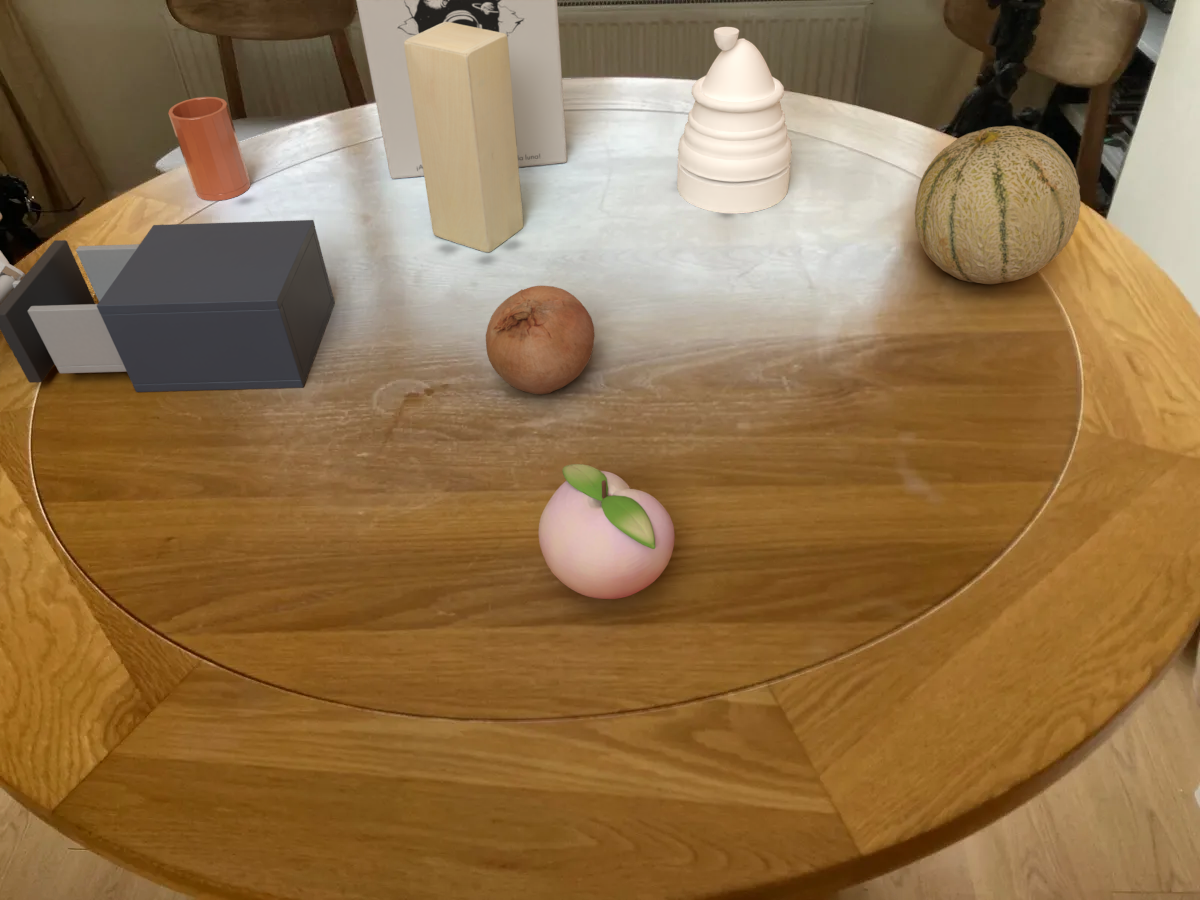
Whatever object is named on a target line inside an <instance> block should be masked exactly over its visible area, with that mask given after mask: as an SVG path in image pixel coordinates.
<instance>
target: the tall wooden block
mask: <svg viewBox="0 0 1200 900" xmlns="http://www.w3.org/2000/svg"><path fill="white" fill-rule="evenodd" d="M404 48H405V55H406V62H407V68H408V74H409V81H410V87H411V94H412V100H413V106H414V113H415V119H416V126H417V132H418V139H419V145H420V152H421V158H422V165H423V171H424V176H423V177H424V184H425V191H426V196H427V197H426V198H427V203H428V209H429V215H430V223H431V228H432V234H433V235H434V236H435V237H437V238H440V239H443V240H446V241H450V242H452V243H456V244H458V245H462V246H465V247H468V248H471V249H474V250H477V251H480V252H482V253H491V252H492V251H494V250H495V249H497V248H498V247H500V246H501V245H503V243H505V242H506V241H508V240H509V239H510V238H512V237H513V236H514V235H516V234H517V233H519V232H520V231H521V230H522V229H523V228H524V218H523V217H524V216H523V204H522V193H521V192H522V191H521V181H520V167H518V156H517V145H516V133H515V121H514V110H513V98H512V84H511V72H510V60H509V48H508V39H507V35H506V34H504V33H500V32H495V31H490V30H485V29H481V28H476V27H471V26H466V25H461V24H456V23H451V22H443V23H441V24H438V25H436V26H434V27H432V28H430V29H428V30H426V31H424V32H421V33H419V34H417V35H415V36H413V37H411V38H409V39H407V40H405V42H404Z"/></svg>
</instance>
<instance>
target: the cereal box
mask: <svg viewBox="0 0 1200 900" xmlns="http://www.w3.org/2000/svg"><path fill="white" fill-rule="evenodd" d="M355 2H356V6H357V11H358V17H359V22H360V27H361V32H362V37H363V43H364V48H365V54H366V58H367V63H368V67H369V68H368V69H369V73H370V74H369V75H370V79H371V84H372V88H373V94H374V99H375V104H376V109H377V115H378V120H379V125H380V130H381V135H382V139H383V145H384V150H385V155H386V161H387V166H388V171H389V177H390V179H392V180H393V179H394V180H395V179H403V178H405V179H407V178H416V177H417V178H418V177H424V171H423V165H422V158H421V152H420V145H419V139H418V132H417V126H416V119H415V113H414V106H413V100H412V94H411V87H410V81H409V74H408V68H407V62H406V55H405V48H404V42H405V40H407V39H409V38H411V37H413V36H415V35H417V34H419V33H421V32H424V31H426V30H428V29H430V28H432V27H434V26H436V25H438V24H441V23H443V22H451V23H456V24H461V25H466V26H471V27H476V28H481V29H485V30H490V31H495V32H500V33H504V34H506V35H507V39H508V48H509V60H510V72H511V84H512V98H513V110H514V121H515V133H516V145H517V156H518V167H519V168H523V167H533V166H545V165H556V164H565V163H566V162H567V161H568V154H567V153H568V152H567V139H566V138H567V137H566V135H567V134H566V123H565V122H566V121H565V104H564V89H563V73H562V71H563V70H562V58H561V57H562V56H561V41H560V40H561V39H560V24H559V8H558V0H355Z"/></svg>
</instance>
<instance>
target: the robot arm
mask: <svg viewBox="0 0 1200 900" xmlns="http://www.w3.org/2000/svg"><path fill="white" fill-rule="evenodd" d="M2 219H3V215H2V213H1V212H0V222H1V221H2ZM2 275H8V276H11V277H12V278H14V279H15V280H16V281H19V280H22V279H23V277H24V276H25V275H26V273H24V271H22V270H21V269H19V268H17V267H16V266H14V265H12V264H10V262H9V261H8V259H7V258H6V256H5V255H4V254H3V252H2V251H1V250H0V277H1V276H2Z"/></svg>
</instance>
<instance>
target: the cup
mask: <svg viewBox="0 0 1200 900" xmlns="http://www.w3.org/2000/svg"><path fill="white" fill-rule="evenodd" d="M167 114H168V118H169V120H170V123H171V126H172V129H173V131H174V135H175V137H176V140H177V143H178V146H179V149H180V152H181V155H182V157H183V161H184V162H185V163H184V164H185V166H186V169H187V172H188V175H189V178H190V181H191V183H192V187H193V188H194V191H195V194H196V196H197V197H198V198H200V199H201V200H205V201H209V202H210V201H211V202H217V201H227V200H230V199H233V198H236V197H238V196H241V195H243V194H244V193H246V192H247V191H249V189H250V187H251V180H250V175H249V171H248V168H247V165H246V162H245V158H244V155H243V152H242V149H241V145H240V142H239V139H238V135H237V133H236V132H237V131H236V128H235V126H234V121H233V119H232V115H231V111H230V108H229V104H228V102H227V101H226V100H225V99H224V98H220V97H217V96H199V97H193V98H190V99H185V100H183V101H180V102H177V103H176V104H174V105H173V106H171V107H170V108H169V110H168V112H167Z"/></svg>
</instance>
